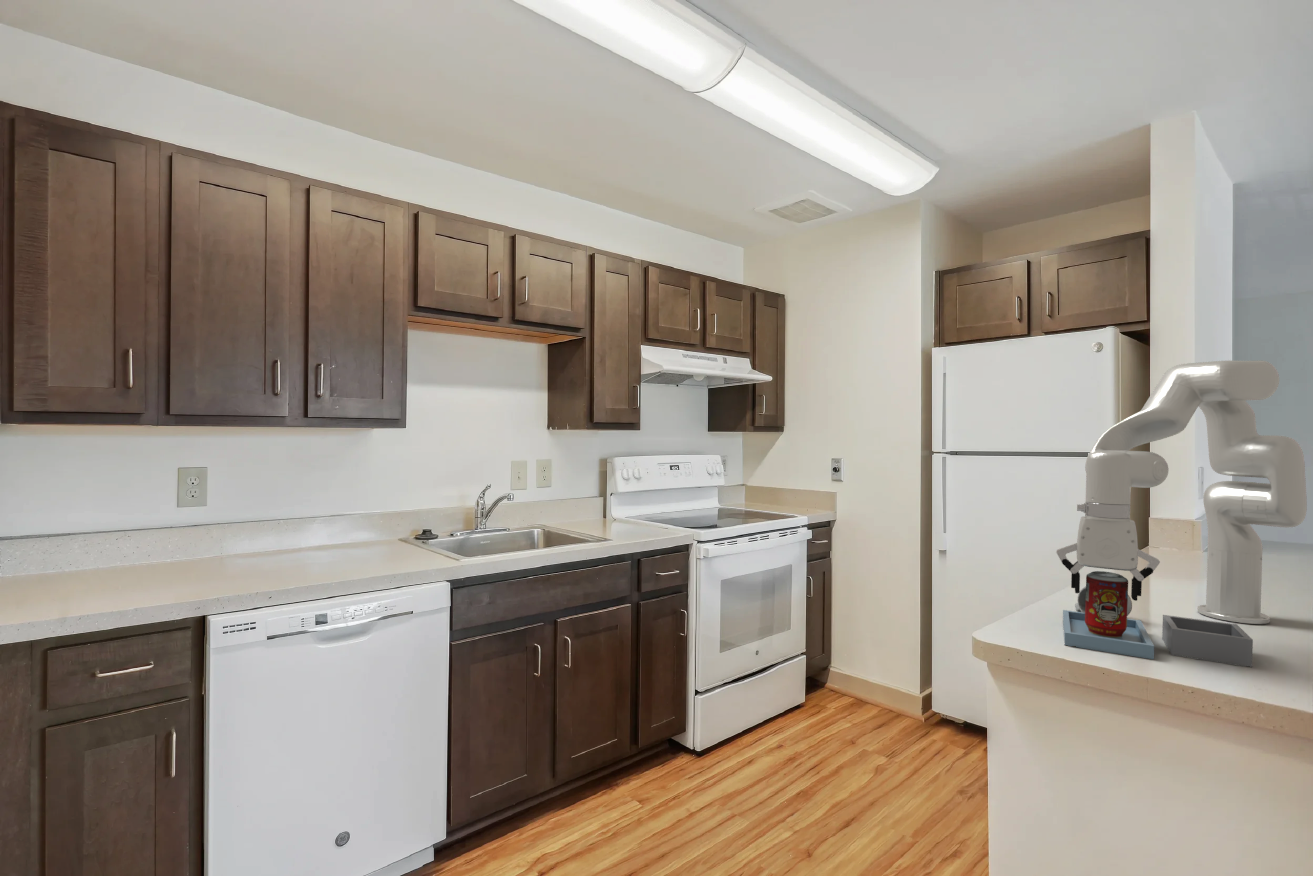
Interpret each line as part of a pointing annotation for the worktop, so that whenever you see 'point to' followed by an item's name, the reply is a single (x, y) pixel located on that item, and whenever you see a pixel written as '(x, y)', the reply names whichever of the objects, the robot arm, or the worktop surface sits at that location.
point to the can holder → (1207, 640)
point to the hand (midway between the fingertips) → (1105, 595)
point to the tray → (1130, 643)
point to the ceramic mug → (1082, 598)
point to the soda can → (1106, 604)
